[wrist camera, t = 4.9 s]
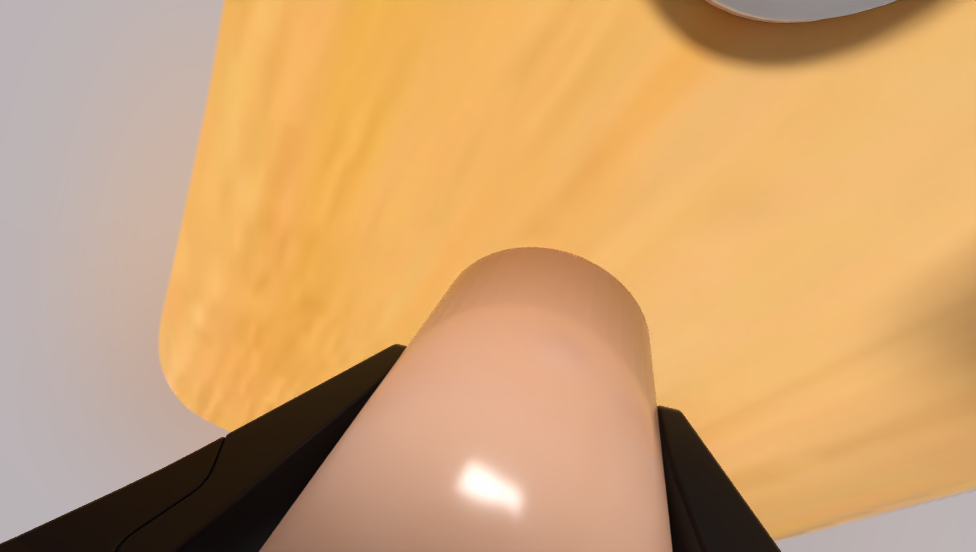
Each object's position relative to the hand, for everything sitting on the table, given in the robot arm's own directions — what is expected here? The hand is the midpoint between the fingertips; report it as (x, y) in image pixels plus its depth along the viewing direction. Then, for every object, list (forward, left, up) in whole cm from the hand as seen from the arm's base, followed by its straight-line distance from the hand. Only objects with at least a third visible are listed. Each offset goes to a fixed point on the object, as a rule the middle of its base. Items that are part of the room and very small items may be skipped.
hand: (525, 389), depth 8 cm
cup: (0, 0, -2) cm, 2 cm away
